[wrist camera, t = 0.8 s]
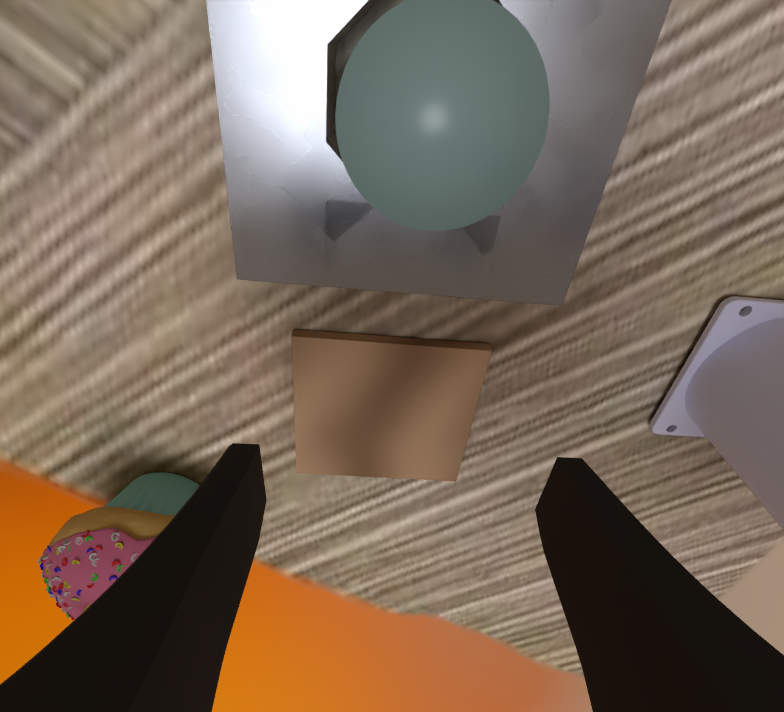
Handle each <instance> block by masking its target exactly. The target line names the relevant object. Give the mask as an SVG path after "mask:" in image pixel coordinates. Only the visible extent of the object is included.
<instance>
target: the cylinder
mask: <svg viewBox="0 0 784 712" xmlns="http://www.w3.org/2000/svg"><path fill="white" fill-rule="evenodd" d="M549 109H550V99H549V86H548V79H547V73H546V70H545V66H544V63H543V59H542V57H541V55H540V52H539V50H538V48H537V45H536V44H535V42H534V40H533V39H532V37H531V35H530V34H529V32H528V31H527V29H526V28H525V27H524V26H523V25H522V23H521V22H520V21H519V20H518V19H517V18H516V17H515V16H514V15H513V14H512V13H510V12H509V11H508V10H507V9H506V8H504V7H503V6H501V5H500V4H498V3H496V2H495V1H493V0H405V1H403V2H401V3H399V4H398V5H396V6H395V7H393V8H392V9H390V10H389V11H387V12H386V13H384V14H383V15H382V16H381V17H380V18H379V19H378V20H377V21H376V22H375V23H374V24H372V26H371V27H370V28H369V29H368V30H367V32H366V33H365V34H364V35H363V36H362V38H361V39H360V41H359V42H358V44H357V45H356V47H355V49H354V50H353V52H352V54H351V56H350V58H349V60H348V62H347V64H346V67H345V69H344V72H343V75H342V78H341V81H340V85H339V90H338V95H337V101H336V113H335V120H336V135H337V142H338V147H339V151H340V154H341V158H342V161H343V164H344V166H345V169H346V171H347V173H348V175H349V177H350V179H351V181H352V182H353V184H354V186H355V187H356V189H357V190H358V191H359V193H360V194H361V195H362V197H363V198H364V199H365V200H366V201H367V202H368V203H369V204H370V205H371V206H372V207H373V208H375V209H376V210H377V211H378V212H379V213H381V214H382V215H384V216H385V217H387V218H389V219H390V220H392V221H394V222H396V223H399V224H401V225H403V226H407V227H410V228H413V229H418V230H425V231H445V230H453V229H457V228H462V227H465V226H468V225H470V224H473V223H476V222H478V221H480V220H482V219H484V218H486V217H487V216H489V215H490V214H492V213H493V212H495V211H496V210H498V209H499V208H500V207H501V206H503V205H504V204H505V203H506V202H507V201H508V200H509V199H510V198H511V197H512V196H513V195H514V194H515V193H516V192H517V191H518V190H519V188H520V187H521V186H522V184H523V183H524V182H525V180H526V179H527V177H528V176H529V174H530V172H531V171H532V169H533V167H534V165H535V163H536V161H537V159H538V157H539V154H540V152H541V149H542V146H543V143H544V140H545V136H546V131H547V126H548V120H549Z"/></svg>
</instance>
